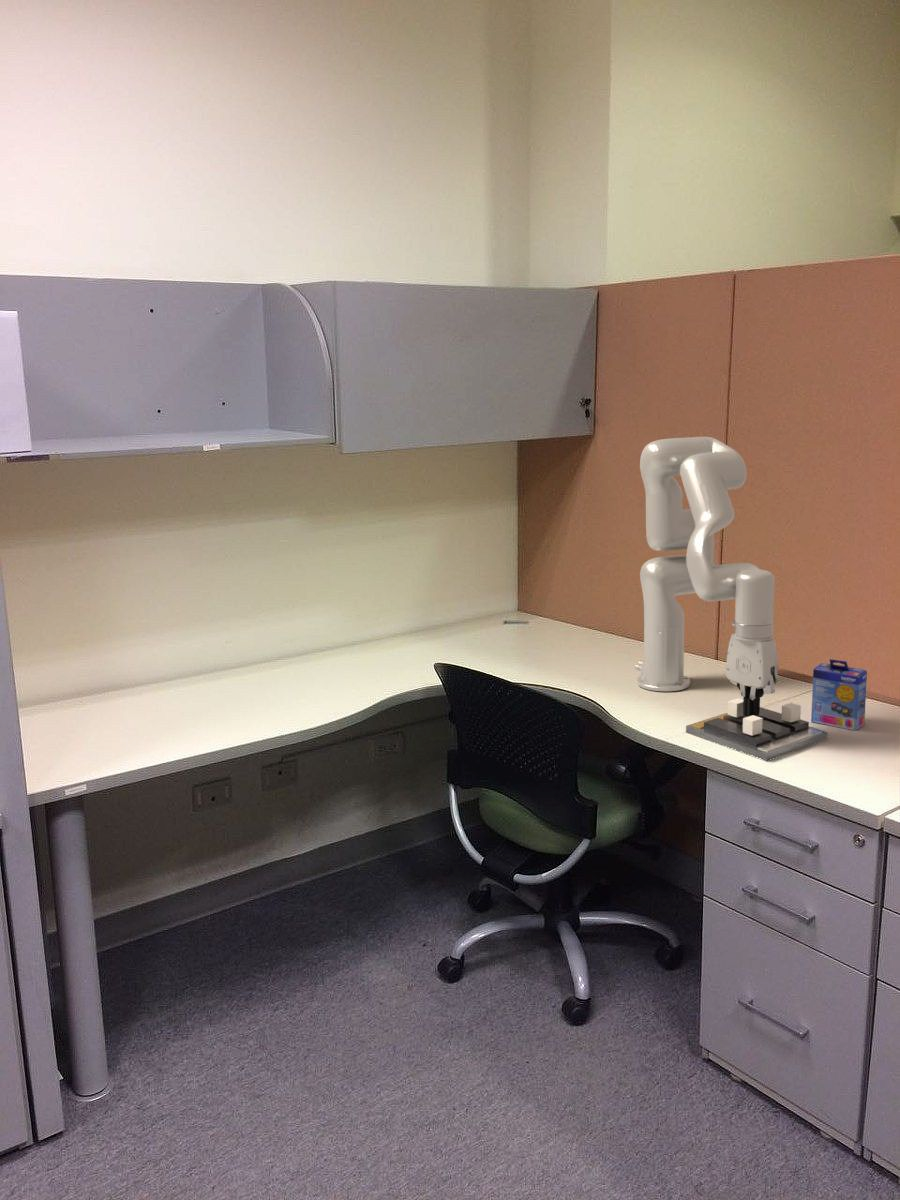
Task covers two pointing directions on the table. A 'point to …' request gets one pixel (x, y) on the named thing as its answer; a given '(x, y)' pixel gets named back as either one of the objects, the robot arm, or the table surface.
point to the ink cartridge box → (839, 695)
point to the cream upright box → (752, 725)
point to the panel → (752, 749)
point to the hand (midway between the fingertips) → (751, 715)
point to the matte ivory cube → (735, 707)
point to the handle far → (791, 712)
